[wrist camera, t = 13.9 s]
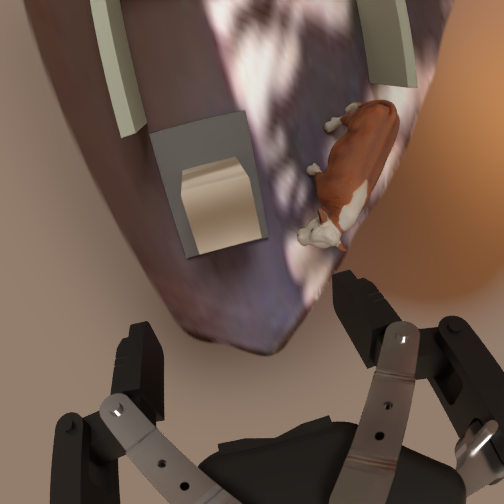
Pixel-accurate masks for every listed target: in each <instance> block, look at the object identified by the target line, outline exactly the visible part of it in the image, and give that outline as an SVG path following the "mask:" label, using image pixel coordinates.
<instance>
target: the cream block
mask: <svg viewBox="0 0 504 504" xmlns="http://www.w3.org/2000/svg"><path fill="white" fill-rule="evenodd" d="M181 198H182V201H183V204H184V207H185V211H186V214H187V217H188V220H189V223H190V227H191V230H192V233H193V236H194V239H195V242H196V245H197V248H198V251H199V254H203V253H207V252H211V251H214V250H218V249H222V248H226V247H229V246H233V245H237V244H240V243H244V242H248V241H252V240H255V239H259V238H262V236H261V232H260V227H259V222H258V217H257V213H256V208H255V203H254V198H253V194H252V189H251V184H250V180H249V177H248V175H247V174H246V172H245V170H244V169H243V167H242V166H241V164H240V162H239V161H238V159H237V158H236V157H232V158H228V159H224V160H220V161H216V162H212V163H208V164H204V165H201V166H197V167H193V168H190V169H186V170H183V171H182V186H181Z"/></svg>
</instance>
